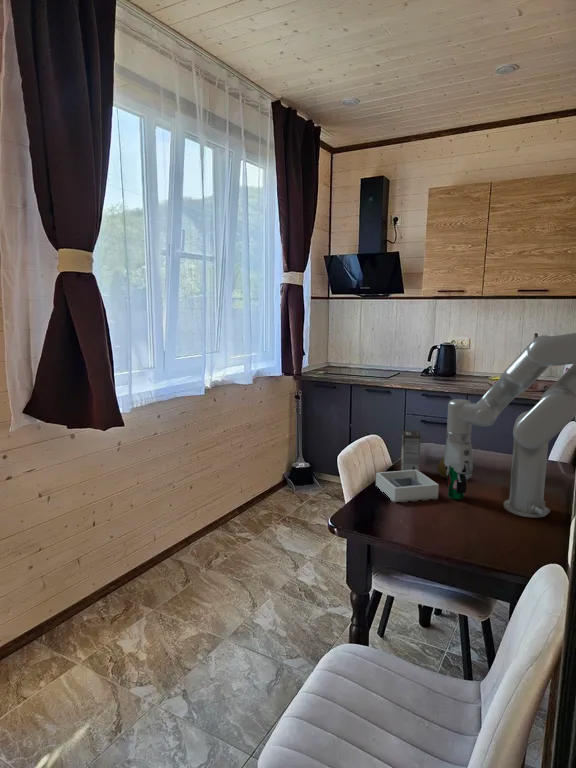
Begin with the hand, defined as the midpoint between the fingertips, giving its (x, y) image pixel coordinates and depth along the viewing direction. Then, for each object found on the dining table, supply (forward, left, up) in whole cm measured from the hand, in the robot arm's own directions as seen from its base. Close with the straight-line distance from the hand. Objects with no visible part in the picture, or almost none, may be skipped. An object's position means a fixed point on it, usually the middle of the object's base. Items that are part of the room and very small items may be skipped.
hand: (456, 489), depth 163 cm
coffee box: (+25, +4, -3) cm, 26 cm away
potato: (+18, -8, -3) cm, 20 cm away
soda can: (0, 0, -3) cm, 3 cm away
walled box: (+8, +14, -3) cm, 17 cm away
